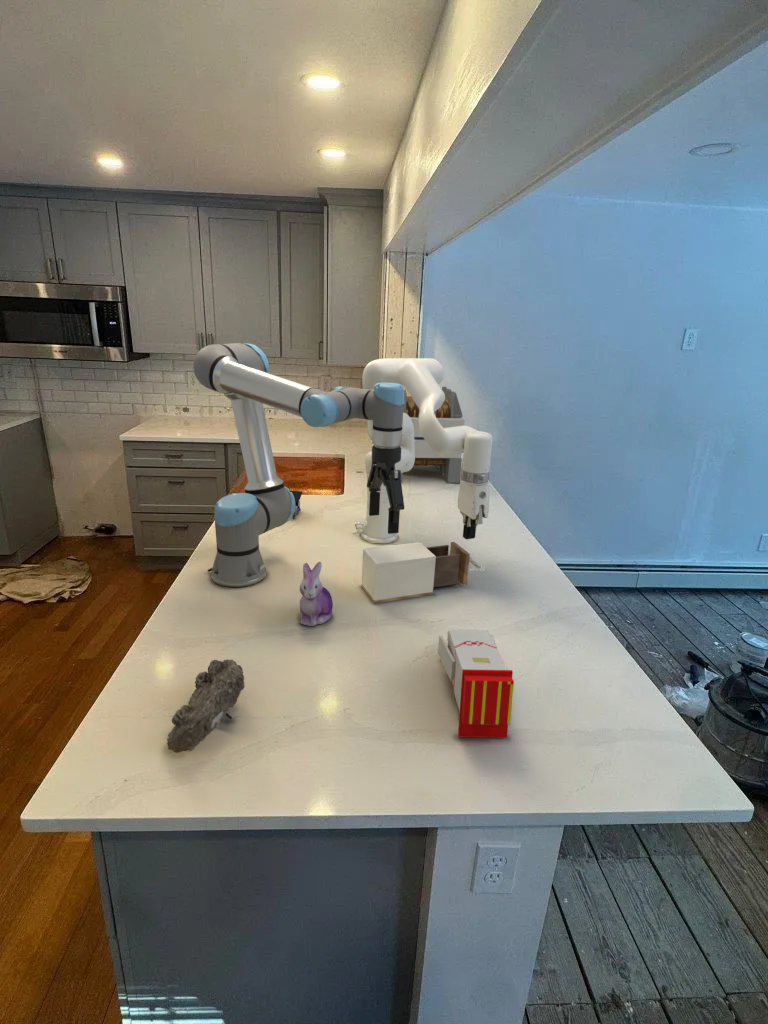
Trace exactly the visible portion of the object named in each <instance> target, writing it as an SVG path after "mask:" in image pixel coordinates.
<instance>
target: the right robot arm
mask: <svg viewBox="0 0 768 1024" xmlns="http://www.w3.org/2000/svg"><path fill="white" fill-rule="evenodd" d="M444 377H445V371H444V367H443V366H442V363H440V361H439V360H437V359H435V358H432V357H426V358H425V357H424V358H422V357H421V358H419V357H418V358H417V357H416V358H415V357H398V358H397V357H396V358H395V357H386V358H377V359H374V360H371V361H370V362H368V363H367V364H366V366H365V367H364V369H363V371H362V377H361V381H362V389H367V390H374V386H375V384H377V383H397V384H400V385H402V386H403V388H404V389H405V390H406V392H407V394H409V396H411V397H412V399H413V400H414V402H415V403H416V405H417V406H418V408H419V410H420V413H419V428H420V432H421V434H422V436H423V438H424V439H425V441H426V442H427V444H428V445H429V447H430V448H431V449H432V450H433V451H434V452H435V453H436V454H438V455H442V456H445V455H451V454H457V453H461V454H462V462H461V474H460V482H459V483H460V484H459V488H458V495H457V509H458V510H459V513H460V514H461V515H462V523H463V529H462V538H463V539H464V540H472V539H475V538H476V533H477V527H478V525H483V522H484V521H483V518H484V519H488V517H489V511H490V486H489V485H490V484H489V478H490V469H491V462H492V451H493V443H494V441H493V440H494V438H493V435H492V434H491V433H489V432H486V431H481V430H478V429H475V428H473V427H472V426H469V425H464V426H457V427H448V428H443V427H442V426H441V424H440V423H439V421H438V420H437V418H436V416H435V414H434V412H435V411H436V410H437V409H438V408H439V407H440V406H441V405H442V404H443V402H444V400H445V394H444V392H443V391H442V387H440V384H441V383H442V382H443V380H444ZM366 420H367V419H366ZM366 423H367V433H368V437H369V440H370V441H371V442H372V428H373V420H367V422H366ZM402 426H403V427H402V432H403V436H402V444H401V445H400V447H401V460H400V462H398V463H396V464H395V470H400V471H401V473H403V474H404V473H407V472H410V471H411V470H412V469H413V467H415V466H414V462H415V444H414V426H413V423H412V420H411V418H410V417H409V416H408V415H407V414H406V413H403V424H402ZM364 465H365V471H366V480H367V482H368V478H369V474H370V470H371V466H372V449H371V450H369V451H368V453H367V454H366V455H365V459H364ZM367 482H366V483H367ZM371 483H372V482H371ZM380 489H381V491H377V492H380V508H379V515H376V516H370V515H369V505H370V493H371V492H369V488H367V487H366V490H367V491H366V519H365V520H366V521H364V522H362V521H355V522H354V527H355V529H356V530H361V534H360V535H361V538H362V539H363V540H364V541H366V542H368V543H373V544H389V543H393V542H395V541H397V540H398V537H399V533H393V534H388V517H389V510H388V509H389V508H390V503H389V499H388V495H387V490H386V487H385V486H384V485H383V483H382V485H381V487H380Z"/></svg>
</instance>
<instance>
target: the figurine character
mask: <svg viewBox="0 0 768 1024" xmlns="http://www.w3.org/2000/svg"><path fill="white" fill-rule="evenodd" d="M289 491H290V492H292V494H293V496H294V498H295V512H294V514H293V516H292V520H295V518H296V516H298V515H299V512H301V511H302V509H301V501H300V500H301V497H302V495H303V491H302V490H301V491H299V490H289Z"/></svg>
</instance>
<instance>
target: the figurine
mask: <svg viewBox="0 0 768 1024" xmlns="http://www.w3.org/2000/svg"><path fill="white" fill-rule="evenodd" d="M322 564H323V563H322V561H318V562H317V563H316V564H315V565H314V566H313V568H312V569H311V566H310V565H309V563H307V562H305V563H303V566H302V572H303V577H302V580H301V582H300V585H299V592H300V594H301V598H300V600H299V609H300V613H299V614H300V615H299V618H300V624H302V625H304V626H309V627H314V626H317V625H322V624H324V623H326V622H328V621H329V620H330V619H331V617H332V615H333V609H334V608H333V607H334V603H333V597H332V594H331V592H330V591H329V590H328V589H327V588H326V587H325V586H323V584H322V581H321V579H320V574H321V571H322V566H323V565H322Z"/></svg>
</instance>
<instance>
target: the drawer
mask: <svg viewBox="0 0 768 1024" xmlns="http://www.w3.org/2000/svg"><path fill="white" fill-rule="evenodd" d="M425 547H426V546H425ZM426 548H427V549H428V550H429V551H430V552H431V553H433V554H434V555H435V556H436V560H435V572H434V585H433V588H439V587H446V586H451V585H457V584H458V582H459V583H460V584H461V585H462V586H467V585H468V577H469V572H474V571H480V572H484V571H485V566H484V565H482V563H480V562H478V561H477V560H476V559H475V558H473V556H471V553H469V552H468V551H467V550H465V549H464V548H463V547H462V546H460V545H459V544H458V543H457V542H456V541H451V542H450V545H449V544H442V545H434V546H427V547H426ZM470 564H471V565H472V566H474V567H471V568H469V566H470Z"/></svg>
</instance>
